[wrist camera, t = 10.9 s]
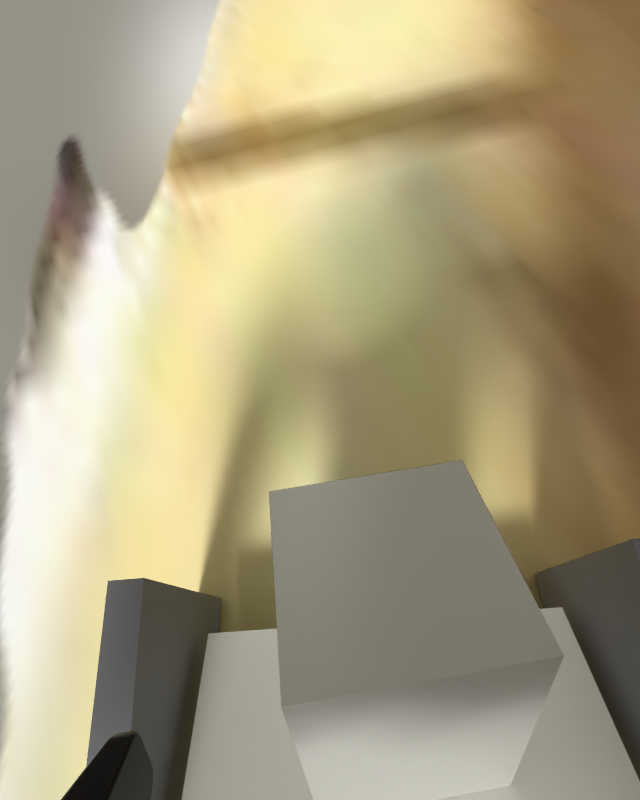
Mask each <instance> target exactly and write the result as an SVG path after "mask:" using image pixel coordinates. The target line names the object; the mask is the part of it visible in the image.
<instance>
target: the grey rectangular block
mask: <svg viewBox="0 0 640 800" xmlns="http://www.w3.org/2000/svg"><path fill="white" fill-rule="evenodd" d="M269 501H270V518H271V536H272V553H273V571H274V588H275V606H276V624H277V641H278V659H279V676H280V694H281V708H282V711H283V714H284V716H285V719H286V722H287V725H288V728H289V731H290V734H291V737H292V739H293V742H294V745H295V748H296V751H297V754H298V757H299V759H300V762H301V765H302V768H303V771H304V774H305V777H306V780H307V782H308V785H309V788H310V791H311V794H312V797H313V800H437V799H442V798H447V797H452V796H457V795H463V794H468V793H473V792H478V791H483V790H489V789H494V788H499V787H504V786H509V785H511V783H512V781H513V778H514V776H515V773H516V771H517V769H518V766H519V764H520V761H521V759H522V756H523V754H524V752H525V749H526V747H527V744H528V742H529V740H530V737H531V735H532V732H533V730H534V727H535V725H536V723H537V720H538V718H539V715H540V713H541V711H542V708H543V706H544V703H545V701H546V698H547V696H548V694H549V691H550V689H551V686H552V684H553V682H554V679H555V677H556V674H557V672H558V669H559V667H560V665H561V662H562V660H563V657H564V655H563V653H562V651H561V649H560V647H559V645H558V643H557V641H556V639H555V637H554V635H553V633H552V632H551V630H550V628H549V626H548V624H547V622H546V620H545V618H544V616H543V614H542V612H541V610H540V608H539V607H538V605H537V603H536V601H535V599H534V597H533V595H532V593H531V591H530V589H529V587H528V585H527V584H526V582H525V580H524V578H523V576H522V574H521V572H520V570H519V568H518V566H517V564H516V562H515V561H514V559H513V557H512V555H511V553H510V551H509V549H508V547H507V545H506V543H505V541H504V539H503V537H502V536H501V534H500V532H499V530H498V528H497V526H496V524H495V522H494V520H493V518H492V516H491V514H490V513H489V511H488V509H487V507H486V505H485V503H484V501H483V499H482V497H481V495H480V493H479V491H478V490H477V488H476V486H475V484H474V482H473V480H472V478H471V476H470V474H469V472H468V470H467V468H466V466H465V465H464V463H463V461H462V460H460V461H453V462H447V463H441V464H435V465H429V466H423V467H417V468H411V469H404V470H398V471H392V472H386V473H380V474H374V475H368V476H362V477H355V478H349V479H343V480H337V481H331V482H325V483H319V484H313V485H306V486H300V487H294V488H288V489H282V490H276V491H270V492H269Z"/></svg>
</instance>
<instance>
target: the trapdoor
mask: <svg viewBox="0 0 640 800" xmlns="http://www.w3.org/2000/svg"><path fill="white" fill-rule="evenodd" d="M540 610H541V612H542V614H543V616H544V618H545V620H546V622H547V624H548V626H549V628H550V630H551V632H552V633H553V635H554V637H555V639H556V641H557V643H558V645H559V647H560V649H561V651H562V653H563V655H564V657H563V660H562V662H561V665H560V667H559V669H558V672H557V674H556V677H555V679H554V682H553V684H552V686H551V689H550V691H549V694H548V696H547V698H546V701H545V703H544V706H543V708H542V711H541V713H540V715H539V718H538V720H537V723H536V725H535V727H534V730H533V732H532V735H531V737H530V740H529V742H528V744H527V747H526V749H525V752H524V754H523V756H522V759H521V761H520V764H519V766H518V769H517V771H516V773H515V776H514V778H513V781H512V783H511V785H509V786H504V787H499V788H494V789H489V790H483V791H478V792H473V793H468V794H463V795H457V796H452V797H447V798H442V799H437V800H640V781H639V779H638V776H637V774H636V772H635V770H634V767H633V765H632V763H631V761H630V758H629V756H628V754H627V752H626V749H625V747H624V745H623V743H622V740H621V738H620V736H619V734H618V731H617V729H616V727H615V725H614V722H613V720H612V718H611V716H610V713H609V711H608V709H607V707H606V704H605V702H604V700H603V698H602V696H601V693H600V691H599V689H598V687H597V684H596V682H595V680H594V678H593V675H592V673H591V671H590V669H589V666H588V664H587V662H586V660H585V657H584V655H583V653H582V651H581V648H580V646H579V644H578V642H577V639H576V637H575V635H574V633H573V630H572V628H571V626H570V624H569V621H568V619H567V617H566V615H565V613H564V610H563V608H562V607H557V608H544V609H540ZM181 800H313V797H312V794H311V791H310V788H309V785H308V782H307V780H306V777H305V774H304V771H303V768H302V765H301V762H300V759H299V757H298V754H297V751H296V748H295V745H294V742H293V739H292V737H291V734H290V731H289V728H288V725H287V722H286V719H285V716H284V714H283V711H282V708H281V694H280V676H279V659H278V641H277V628H276V629H262V630H249V631H235V632H222V633H208V639H207V645H206V651H205V658H204V664H203V670H202V676H201V682H200V688H199V695H198V701H197V707H196V713H195V719H194V725H193V732H192V738H191V744H190V750H189V756H188V762H187V769H186V775H185V781H184V787H183V793H182V799H181Z"/></svg>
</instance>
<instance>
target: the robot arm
mask: <svg viewBox="0 0 640 800" xmlns="http://www.w3.org/2000/svg"><path fill="white" fill-rule="evenodd" d="M153 781H154V771H153V765H152V762H151V759H150V757H149V754H148V752H147V749H146V747H145V744H144V742H143V740H142V737H141V735H140V733H138V732H137V731H129V732H124V733H118V734H115V735H113V736H111V737H110V738H109V739H108V740H107V741H106V743H105V744H104V745H103V746H102V748H101V749H100V750H99V752H98V753H97V754H96V755H95V757H94V758H93V759H92V761H91V762H90V763H89V764H88V766H87V767H86V768H85V770H84V771H83V772H82V773H81V775H80V776H79V777H78V779H77V780H76V781H75V782H74V784H73V785H72V786H71V788H70V789H69V790H68V791H67V793H66V794H65V795H64V796H63V798H62V799H61V800H151V798H152V790H153Z"/></svg>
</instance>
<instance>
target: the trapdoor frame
mask: <svg viewBox="0 0 640 800" xmlns="http://www.w3.org/2000/svg"><path fill="white" fill-rule="evenodd" d="M535 577H536V581H537V585H538V589H539V593H540V597H541V601H542V605H543V609H544V608H557V607H562V608H563V610H564V613H565V615H566V617H567V619H568V621H569V624H570V626H571V628H572V630H573V633H574V635H575V637H576V639H577V642H578V644H579V646H580V648H581V651H582V653H583V655H584V657H585V660H586V662H587V664H588V666H589V669H590V671H591V673H592V675H593V678H594V680H595V682H596V684H597V687H598V689H599V691H600V693H601V696H602V698H603V700H604V702H605V704H606V707H607V709H608V711H609V713H610V716H611V718H612V720H613V722H614V725H615V727H616V729H617V731H618V734H619V736H620V738H621V740H622V743H623V745H624V747H625V749H626V752H627V754H628V756H629V758H630V761H631V763H632V765H633V767H634V770H635V772H636V774H637V776H638V779H639V781H640V539H631V540H628V541H626V542H623V543H620V544H617V545H614V546H611V547H609V548H606V549H603V550H600V551H597V552H595V553H592V554H589V555H586V556H583V557H581V558H578V559H575V560H572V561H569V562H567V563H564V564H561V565H558V566H555V567H553V568H550V569H547V570H544V571H541V572H539V573H536V574H535ZM208 633H220V598H218V597H214V596H210V595H206V594H203V593H199V592H195V591H191V590H187V589H183V588H180V587H176V586H172V585H168V584H164V583H161V582H157V581H153V580H149V579H145V578H139V579H127V580H114V581H108V586H107V594H106V603H105V612H104V620H103V629H102V637H101V646H100V655H99V663H98V672H97V680H96V689H95V698H94V706H93V715H92V723H91V732H90V741H89V749H88V758H87V766H88V764H89V763H90V762H91V761H92V759H93V758H94V757H95V755H96V754H97V753H98V752H99V750H100V749H101V748H102V746H103V745H104V744H105V743H106V741H107V740H108V739H109V738H110V737H111V736H113V735H115V734H118V733H124V732H129V731H137V732H138V733H140V735H141V737H142V740H143V742H144V744H145V747H146V749H147V752H148V754H149V757H150V759H151V762H152V765H153V771H154V781H153V790H152V798H151V800H181V799H182V793H183V787H184V781H185V775H186V769H187V762H188V756H189V750H190V744H191V738H192V732H193V725H194V719H195V713H196V707H197V701H198V695H199V688H200V682H201V676H202V670H203V664H204V658H205V651H206V645H207V639H208Z"/></svg>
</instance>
